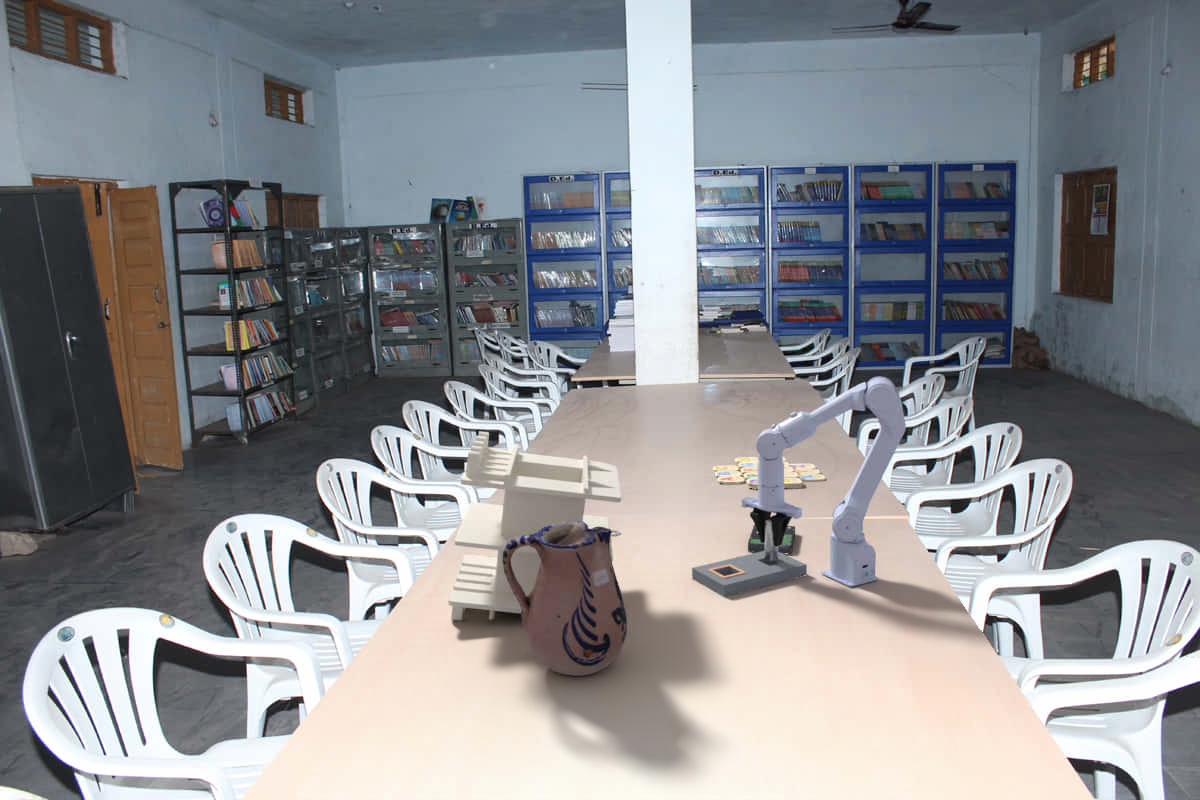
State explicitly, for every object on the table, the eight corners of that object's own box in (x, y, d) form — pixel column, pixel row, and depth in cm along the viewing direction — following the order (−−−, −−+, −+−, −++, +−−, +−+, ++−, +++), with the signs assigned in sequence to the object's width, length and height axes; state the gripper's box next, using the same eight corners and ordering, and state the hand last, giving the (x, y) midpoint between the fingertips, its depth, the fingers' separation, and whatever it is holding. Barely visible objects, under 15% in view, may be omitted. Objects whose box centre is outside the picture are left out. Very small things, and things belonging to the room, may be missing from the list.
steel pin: (781, 558, 201) (780, 519, 199) (770, 561, 200) (769, 522, 198) (772, 554, 204) (772, 516, 202) (761, 557, 202) (761, 518, 201)
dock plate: (806, 575, 199) (806, 563, 199) (723, 596, 189) (723, 584, 189) (772, 559, 210) (772, 548, 209) (692, 578, 200) (692, 567, 199)
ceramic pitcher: (641, 678, 156) (637, 539, 151) (521, 700, 150) (512, 556, 146) (611, 637, 172) (606, 510, 168) (501, 655, 167) (493, 524, 162)
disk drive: (753, 534, 229) (747, 553, 215) (753, 523, 229) (747, 542, 215) (795, 536, 227) (792, 556, 212) (795, 525, 226) (792, 544, 212)
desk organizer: (462, 577, 205) (478, 427, 199) (599, 592, 206) (618, 443, 200) (445, 627, 179) (462, 456, 173) (601, 644, 180) (624, 474, 174)
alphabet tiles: (832, 488, 266) (832, 480, 265) (720, 492, 266) (720, 484, 266) (808, 461, 298) (808, 453, 298) (709, 464, 299) (709, 457, 299)
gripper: (809, 485, 196) (809, 545, 199) (754, 475, 206) (754, 532, 209) (791, 492, 191) (791, 554, 194) (735, 481, 201) (736, 540, 204)
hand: (771, 543), depth 201 cm, fingers closed on steel pin, 3 cm apart
